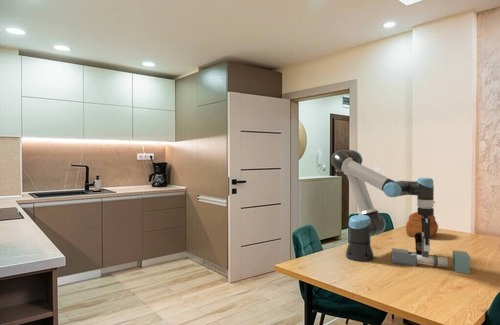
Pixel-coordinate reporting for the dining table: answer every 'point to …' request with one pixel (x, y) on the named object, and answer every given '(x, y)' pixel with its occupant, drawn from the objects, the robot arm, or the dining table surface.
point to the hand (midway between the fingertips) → (425, 247)
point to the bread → (420, 225)
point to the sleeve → (404, 257)
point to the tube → (430, 258)
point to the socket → (461, 262)
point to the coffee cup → (418, 243)
